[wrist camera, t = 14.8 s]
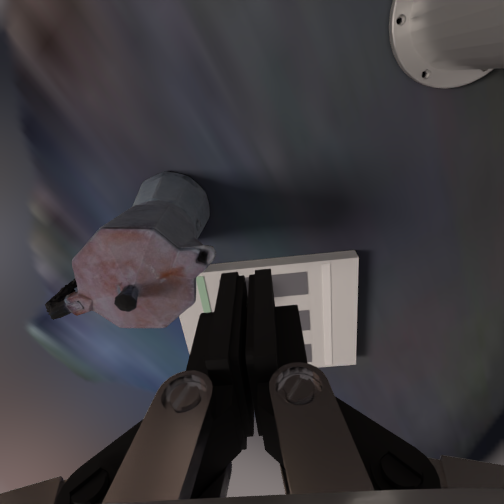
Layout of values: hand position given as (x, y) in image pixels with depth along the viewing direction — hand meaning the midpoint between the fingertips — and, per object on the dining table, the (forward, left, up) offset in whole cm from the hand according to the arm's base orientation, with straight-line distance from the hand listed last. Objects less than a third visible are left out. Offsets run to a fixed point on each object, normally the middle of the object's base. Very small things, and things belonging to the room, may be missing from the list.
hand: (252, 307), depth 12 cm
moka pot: (+11, +6, -29) cm, 32 cm away
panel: (+1, +23, -29) cm, 37 cm away
